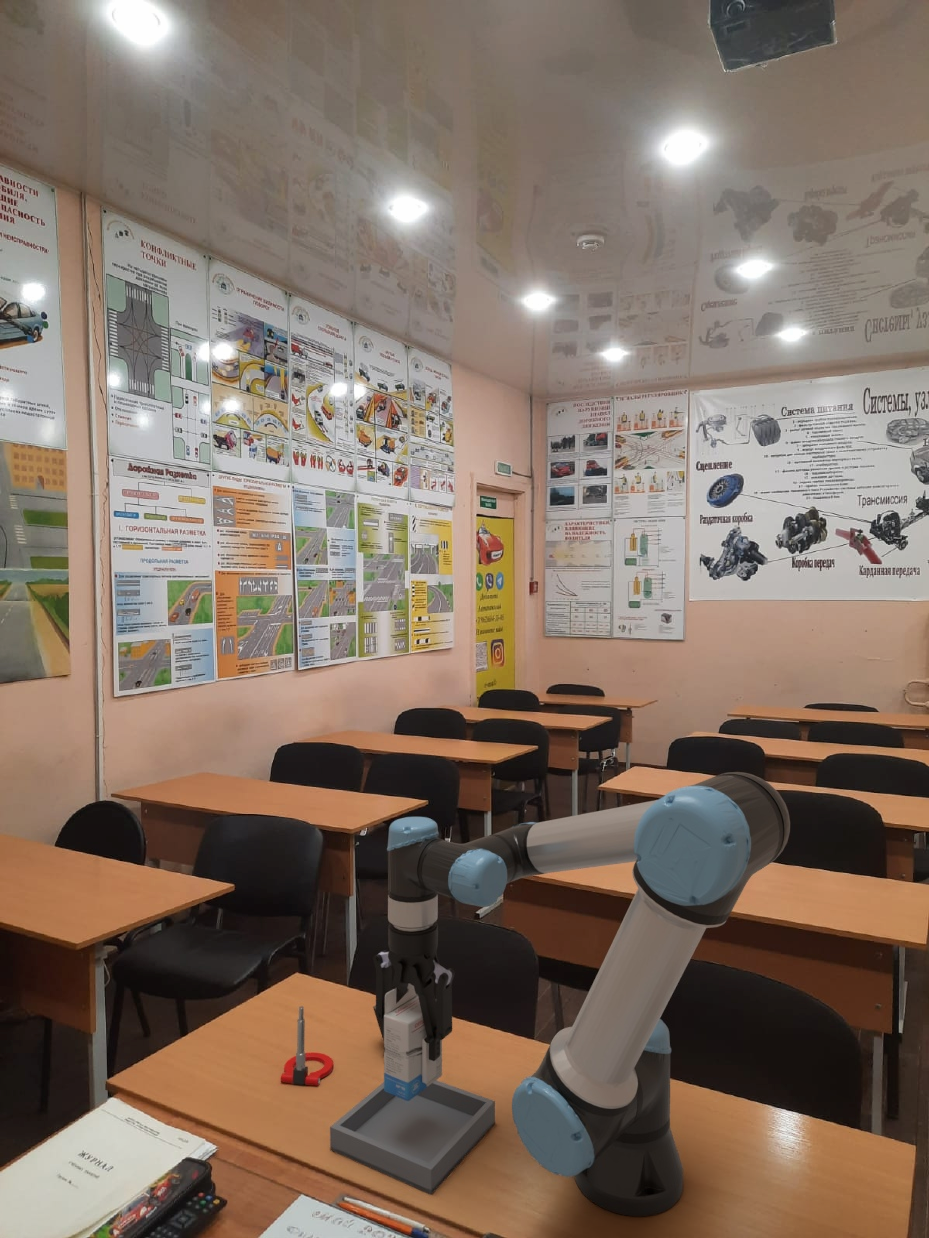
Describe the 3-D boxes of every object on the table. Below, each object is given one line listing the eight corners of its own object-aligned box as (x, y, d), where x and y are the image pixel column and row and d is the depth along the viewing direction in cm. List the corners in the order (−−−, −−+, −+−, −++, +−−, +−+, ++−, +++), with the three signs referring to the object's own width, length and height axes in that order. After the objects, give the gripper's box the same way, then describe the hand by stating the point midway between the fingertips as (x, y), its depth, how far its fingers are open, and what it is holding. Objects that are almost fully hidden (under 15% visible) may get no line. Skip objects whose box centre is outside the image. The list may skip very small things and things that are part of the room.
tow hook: (294, 1056, 148) (274, 1084, 139) (295, 984, 148) (275, 1007, 139) (339, 1060, 147) (322, 1088, 137) (340, 987, 147) (323, 1010, 138)
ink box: (408, 1103, 120) (407, 1003, 120) (382, 1091, 123) (382, 994, 123) (443, 1075, 127) (443, 981, 127) (418, 1065, 130) (418, 973, 129)
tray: (494, 1122, 128) (494, 1100, 128) (431, 1194, 113) (431, 1169, 113) (401, 1088, 137) (400, 1067, 137) (330, 1149, 122) (330, 1126, 122)
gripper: (477, 925, 123) (477, 1078, 123) (380, 902, 132) (380, 1044, 133) (450, 943, 116) (450, 1104, 117) (350, 917, 126) (351, 1066, 126)
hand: (413, 1072), depth 125 cm, fingers closed on ink box, 5 cm apart
